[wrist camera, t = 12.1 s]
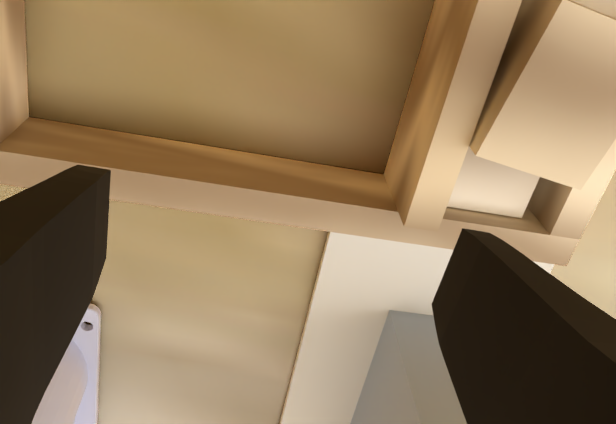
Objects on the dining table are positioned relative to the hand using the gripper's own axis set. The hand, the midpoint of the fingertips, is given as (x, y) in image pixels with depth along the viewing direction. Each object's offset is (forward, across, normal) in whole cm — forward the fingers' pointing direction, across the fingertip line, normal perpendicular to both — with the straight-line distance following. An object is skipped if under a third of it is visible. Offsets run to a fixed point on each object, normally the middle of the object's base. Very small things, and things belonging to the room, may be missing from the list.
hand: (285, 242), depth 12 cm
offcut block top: (+8, -8, -3) cm, 12 cm away
